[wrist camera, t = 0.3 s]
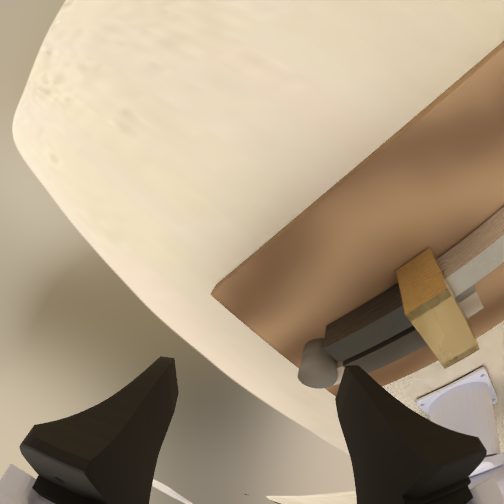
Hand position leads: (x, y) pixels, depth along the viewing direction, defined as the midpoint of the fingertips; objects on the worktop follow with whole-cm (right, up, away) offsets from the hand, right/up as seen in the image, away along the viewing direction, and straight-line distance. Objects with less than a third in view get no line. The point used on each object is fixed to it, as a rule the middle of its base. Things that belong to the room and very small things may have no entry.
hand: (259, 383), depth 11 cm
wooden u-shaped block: (+11, +3, +4) cm, 12 cm away
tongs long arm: (+11, +4, +3) cm, 12 cm away
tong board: (+12, +5, +4) cm, 14 cm away
